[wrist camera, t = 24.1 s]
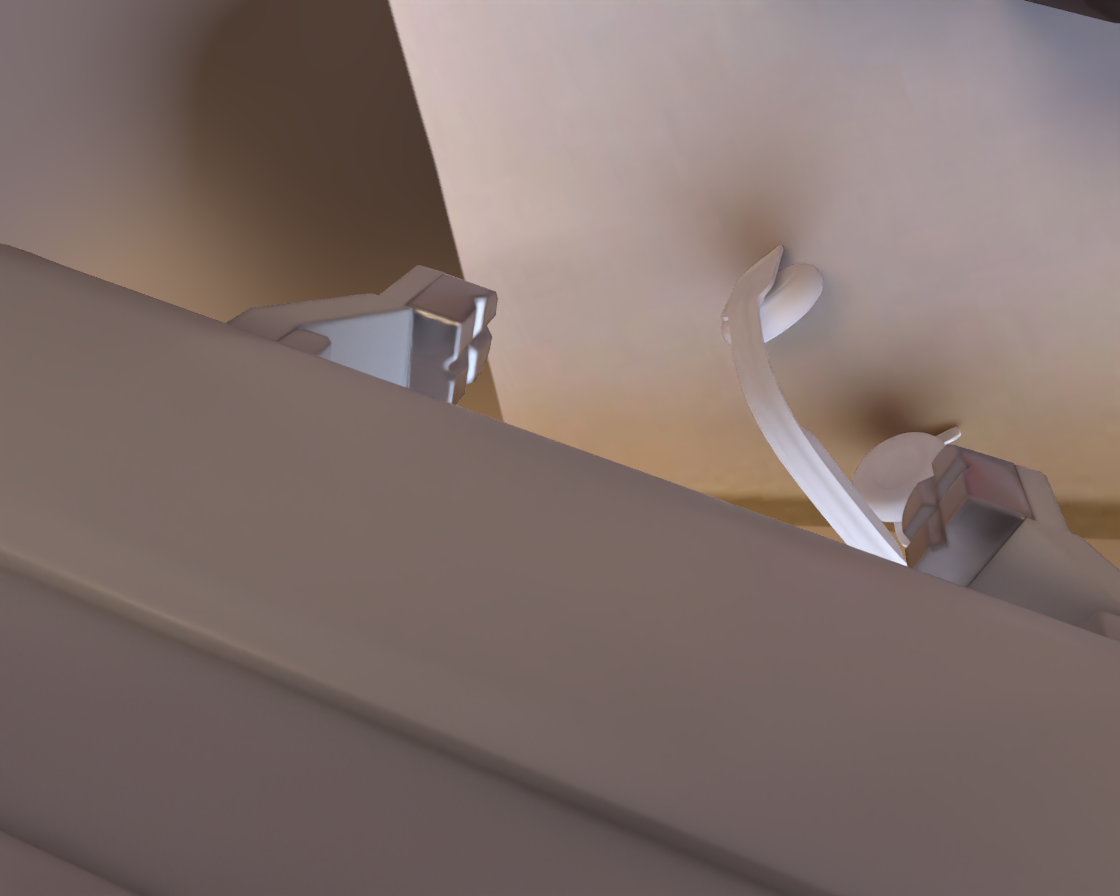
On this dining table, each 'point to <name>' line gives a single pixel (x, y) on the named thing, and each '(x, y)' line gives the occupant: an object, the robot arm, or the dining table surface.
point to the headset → (880, 478)
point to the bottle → (1087, 8)
